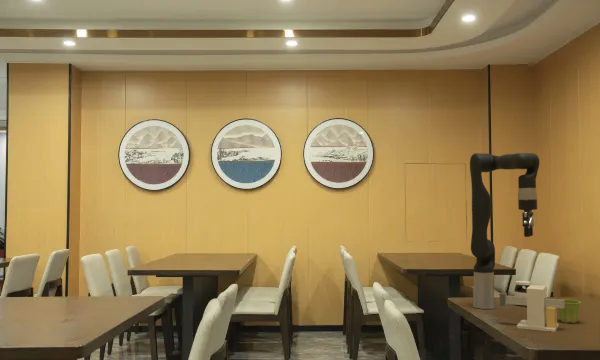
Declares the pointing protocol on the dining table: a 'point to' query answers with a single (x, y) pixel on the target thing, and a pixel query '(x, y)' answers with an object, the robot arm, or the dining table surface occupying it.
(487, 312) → the dining table surface
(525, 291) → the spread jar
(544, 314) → the bracket
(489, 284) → the robot arm
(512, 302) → the shaft
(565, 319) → the plant pot
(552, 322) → the block
